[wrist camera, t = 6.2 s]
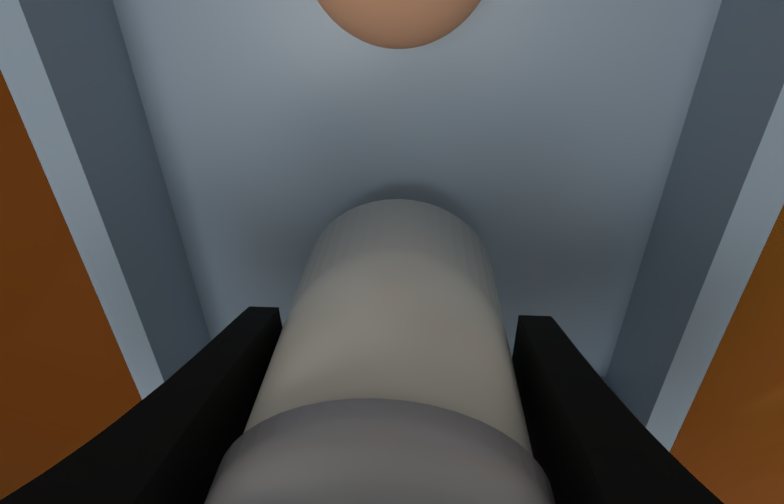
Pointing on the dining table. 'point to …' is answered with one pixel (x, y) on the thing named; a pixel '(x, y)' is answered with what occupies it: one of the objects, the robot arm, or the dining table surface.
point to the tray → (416, 162)
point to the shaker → (389, 376)
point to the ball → (399, 19)
